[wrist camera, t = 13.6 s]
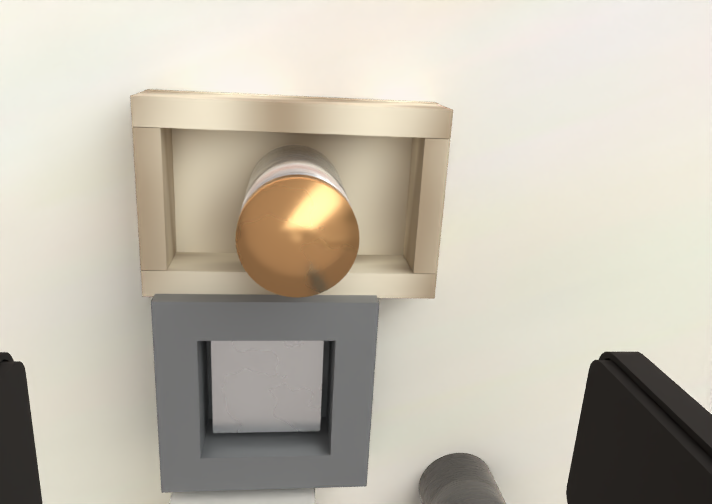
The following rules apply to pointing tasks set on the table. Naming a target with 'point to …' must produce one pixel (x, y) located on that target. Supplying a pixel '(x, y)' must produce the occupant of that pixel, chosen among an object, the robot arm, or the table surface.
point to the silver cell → (296, 224)
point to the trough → (243, 151)
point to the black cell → (459, 482)
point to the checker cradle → (262, 449)
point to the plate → (266, 386)
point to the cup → (246, 496)
